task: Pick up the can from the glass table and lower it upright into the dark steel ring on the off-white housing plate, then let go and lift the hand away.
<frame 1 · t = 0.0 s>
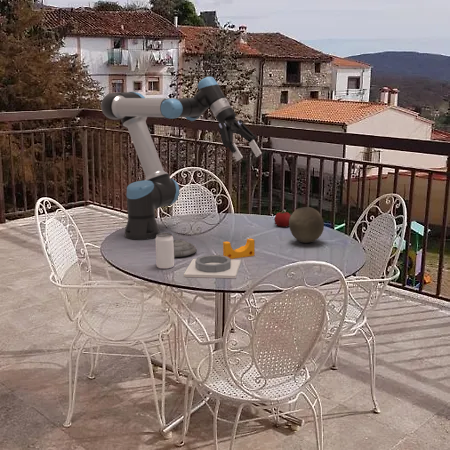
hand: (249, 157, 231), 36 cm above the table, tool tilted 35°, fingers open, 13 cm apart
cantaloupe: (306, 243, 241), on the table
housing: (213, 269, 210), on the table
can: (165, 267, 214), on the table
grey stepped dome: (177, 254, 230), on the table
tomato: (283, 226, 269), on the table
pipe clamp: (238, 257, 225), on the table
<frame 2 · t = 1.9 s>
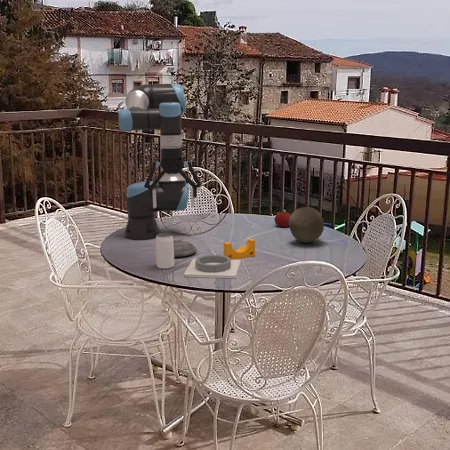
hand: (173, 207, 210), 22 cm above the table, tool pointing down, fingers open, 13 cm apart
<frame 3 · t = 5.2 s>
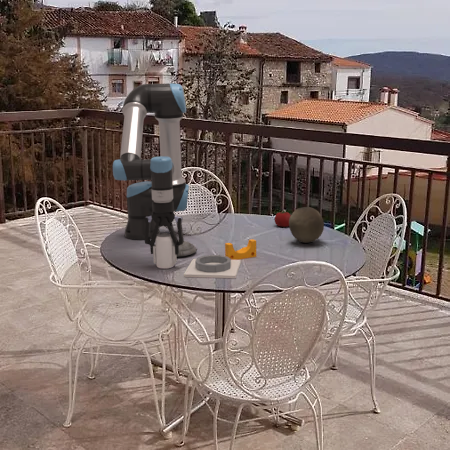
hand: (165, 262, 214), 1 cm above the table, tool pointing down, fingers closed on can, 6 cm apart
can: (165, 266, 214), on the table, touching gripper
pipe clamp: (239, 258, 224), on the table
everything else where it was.
when the fingers open (4 cm above the table, at t = 11.3 s): can drops 2 cm, resting on housing.
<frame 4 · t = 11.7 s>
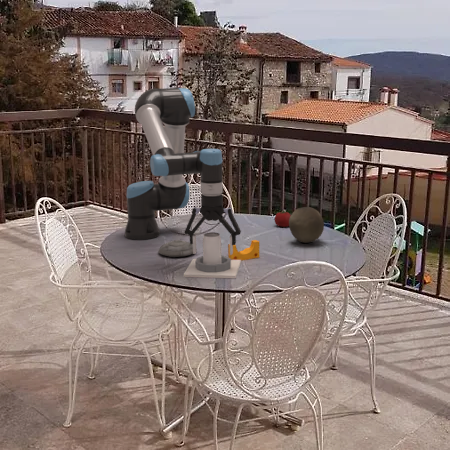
hand: (213, 253, 208), 6 cm above the table, tool pointing down, fingers open, 12 cm apart
can: (212, 267, 210), point 1 cm above the table, touching housing
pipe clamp: (242, 259, 222), on the table
everything else where it was.
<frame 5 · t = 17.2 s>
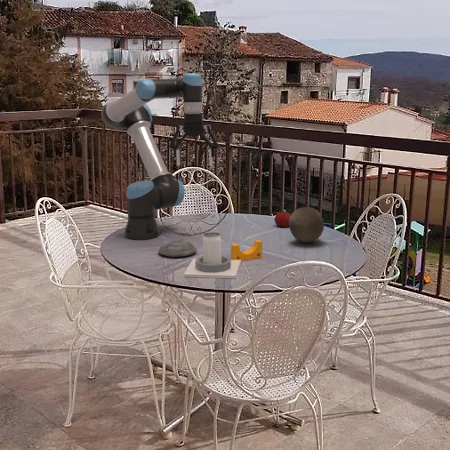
hand: (194, 165, 241), 32 cm above the table, tool pointing down, fingers open, 13 cm apart
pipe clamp: (245, 259, 222), on the table
everything else where it was.
at the end: can 0.3 cm off-centre on the housing, point 0.8 cm above the housing's base; can tilted 0°; the gripper is holding nothing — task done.
